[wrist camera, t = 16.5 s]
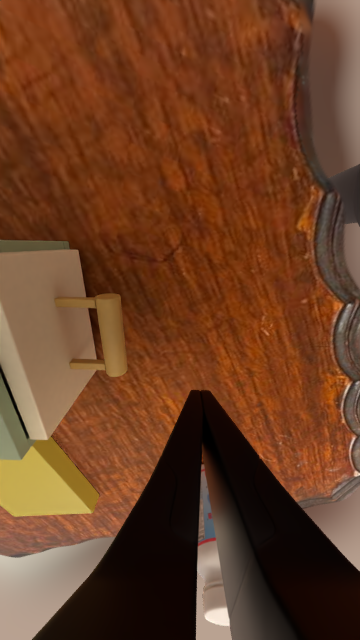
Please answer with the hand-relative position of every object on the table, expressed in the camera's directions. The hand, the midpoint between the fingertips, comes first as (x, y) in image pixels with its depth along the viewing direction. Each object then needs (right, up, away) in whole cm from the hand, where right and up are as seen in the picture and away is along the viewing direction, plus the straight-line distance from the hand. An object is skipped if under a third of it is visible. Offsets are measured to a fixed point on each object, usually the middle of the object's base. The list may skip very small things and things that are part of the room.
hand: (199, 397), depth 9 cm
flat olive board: (-23, -15, +18) cm, 33 cm away
